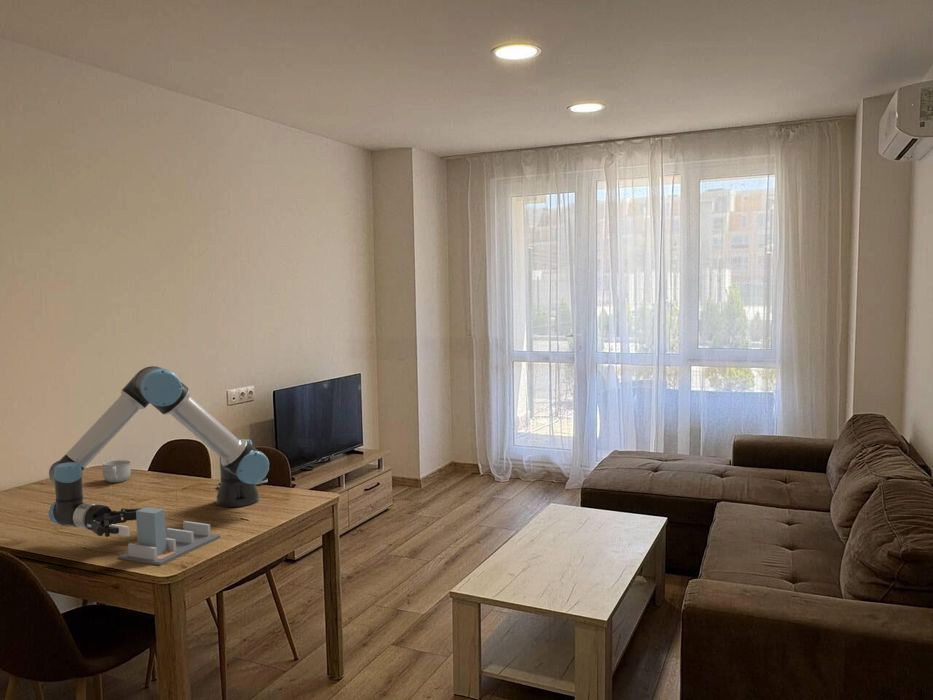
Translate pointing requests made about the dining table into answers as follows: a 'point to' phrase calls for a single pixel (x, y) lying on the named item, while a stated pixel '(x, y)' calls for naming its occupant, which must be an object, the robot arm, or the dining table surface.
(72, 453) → the robot arm
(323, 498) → the dining table surface
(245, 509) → the dining table surface
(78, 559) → the dining table surface
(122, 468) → the teacup
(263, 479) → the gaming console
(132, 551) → the rack
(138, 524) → the tall grey pillar
